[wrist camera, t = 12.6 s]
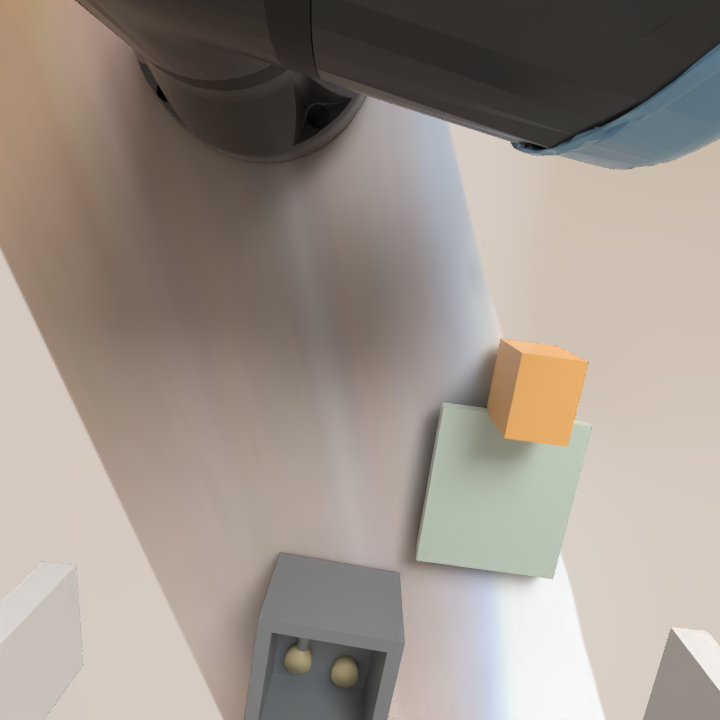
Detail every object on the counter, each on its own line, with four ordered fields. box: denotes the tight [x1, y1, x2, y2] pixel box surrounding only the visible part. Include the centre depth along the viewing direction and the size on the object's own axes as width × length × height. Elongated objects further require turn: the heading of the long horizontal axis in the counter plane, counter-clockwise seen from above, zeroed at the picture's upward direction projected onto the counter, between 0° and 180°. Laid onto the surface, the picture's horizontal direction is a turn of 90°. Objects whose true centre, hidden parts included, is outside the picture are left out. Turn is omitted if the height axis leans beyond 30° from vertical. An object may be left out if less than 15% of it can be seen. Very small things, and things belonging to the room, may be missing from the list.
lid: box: [415, 339, 592, 579], centre depth 32 cm, size 18×11×6 cm, turn 173°
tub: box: [244, 553, 405, 720], centre depth 36 cm, size 12×10×7 cm
